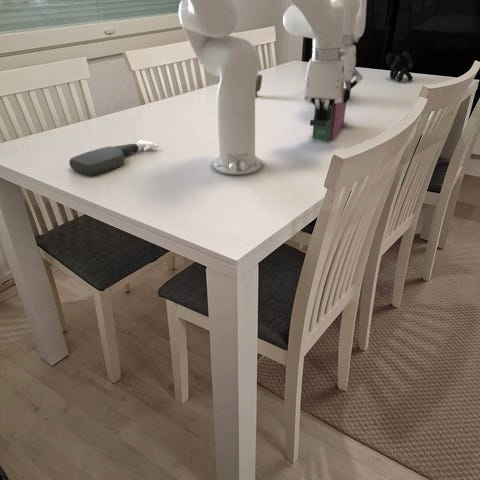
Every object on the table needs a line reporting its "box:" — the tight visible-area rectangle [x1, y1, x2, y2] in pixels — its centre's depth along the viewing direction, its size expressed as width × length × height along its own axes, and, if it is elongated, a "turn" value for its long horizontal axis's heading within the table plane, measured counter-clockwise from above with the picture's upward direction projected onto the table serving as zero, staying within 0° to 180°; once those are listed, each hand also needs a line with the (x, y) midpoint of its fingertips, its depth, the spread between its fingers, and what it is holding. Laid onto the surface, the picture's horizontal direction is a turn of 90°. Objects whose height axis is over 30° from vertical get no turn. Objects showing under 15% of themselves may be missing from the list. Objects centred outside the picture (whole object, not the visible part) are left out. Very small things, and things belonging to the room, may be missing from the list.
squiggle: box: [385, 51, 414, 83], centre depth 198 cm, size 11×10×15 cm
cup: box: [255, 73, 263, 97], centre depth 179 cm, size 8×7×8 cm
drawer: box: [309, 104, 334, 141], centre depth 136 cm, size 22×5×10 cm, turn 158°
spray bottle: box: [68, 139, 160, 177], centre depth 124 cm, size 3×11×24 cm
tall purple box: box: [312, 87, 347, 141], centre depth 140 cm, size 18×6×11 cm, turn 158°
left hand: (321, 121), depth 129 cm, fingers closed
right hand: (334, 100), depth 143 cm, fingers closed on tall purple box, 6 cm apart
